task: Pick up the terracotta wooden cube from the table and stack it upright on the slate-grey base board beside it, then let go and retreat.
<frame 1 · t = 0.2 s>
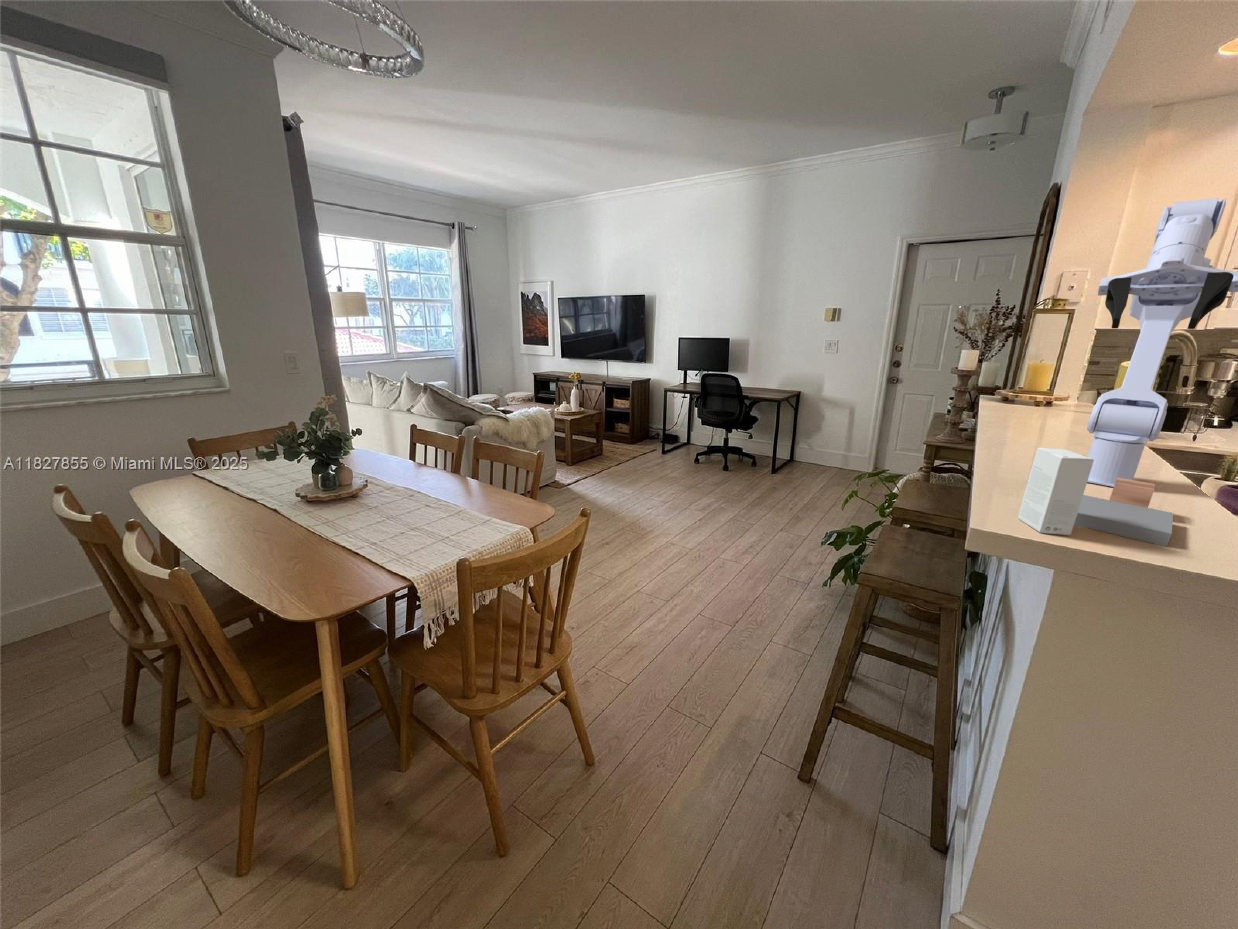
hand: (1152, 323, 70), 31 cm above the table, tool tilted 45°, fingers open, 7 cm apart
terracotta cube: (1125, 511, 82), on the table
skincare box: (1042, 528, 75), on the table
slate base board: (1112, 522, 77), on the table
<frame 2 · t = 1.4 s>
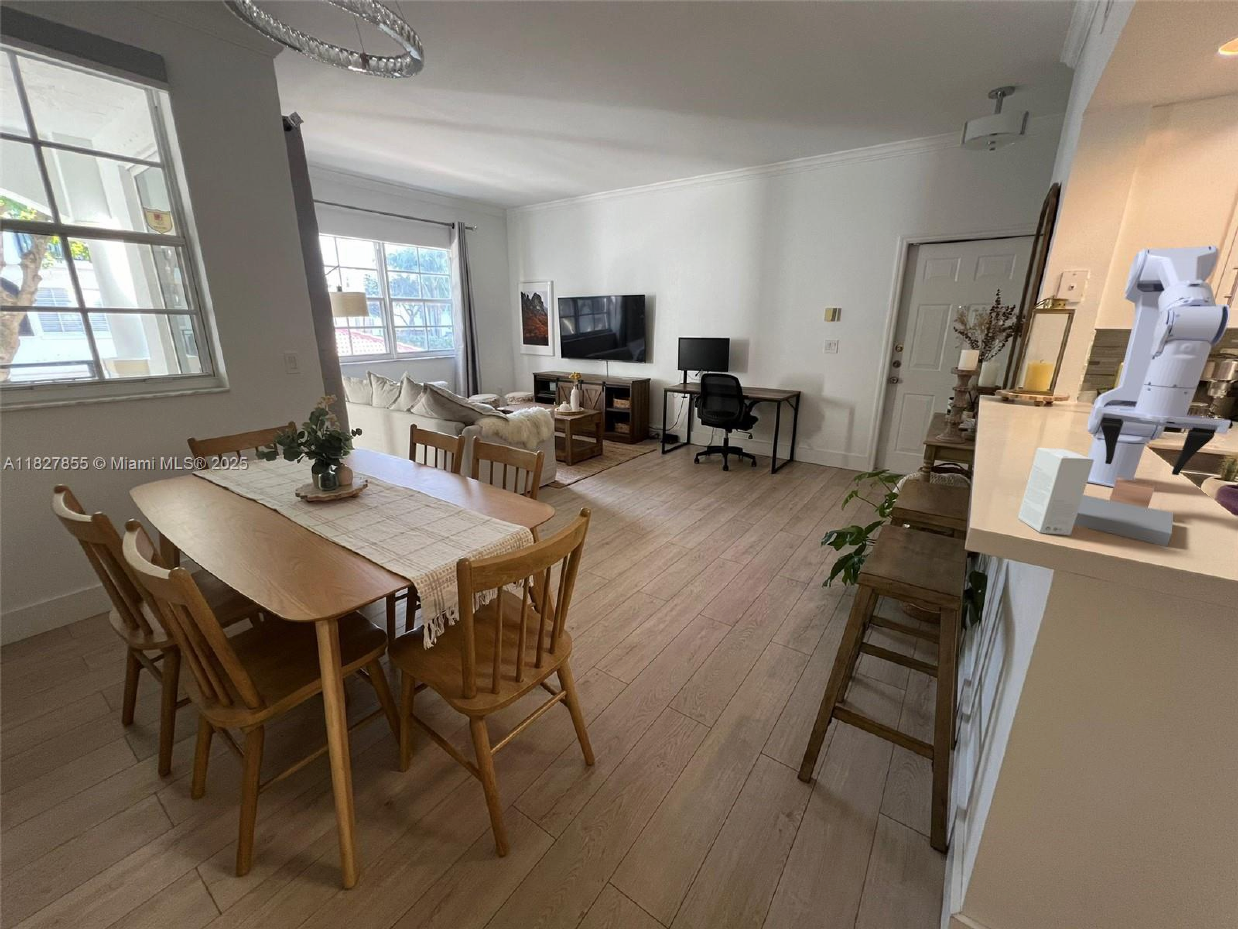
hand: (1140, 468, 79), 8 cm above the table, tool pointing down, fingers open, 7 cm apart
nothing on the table moved.
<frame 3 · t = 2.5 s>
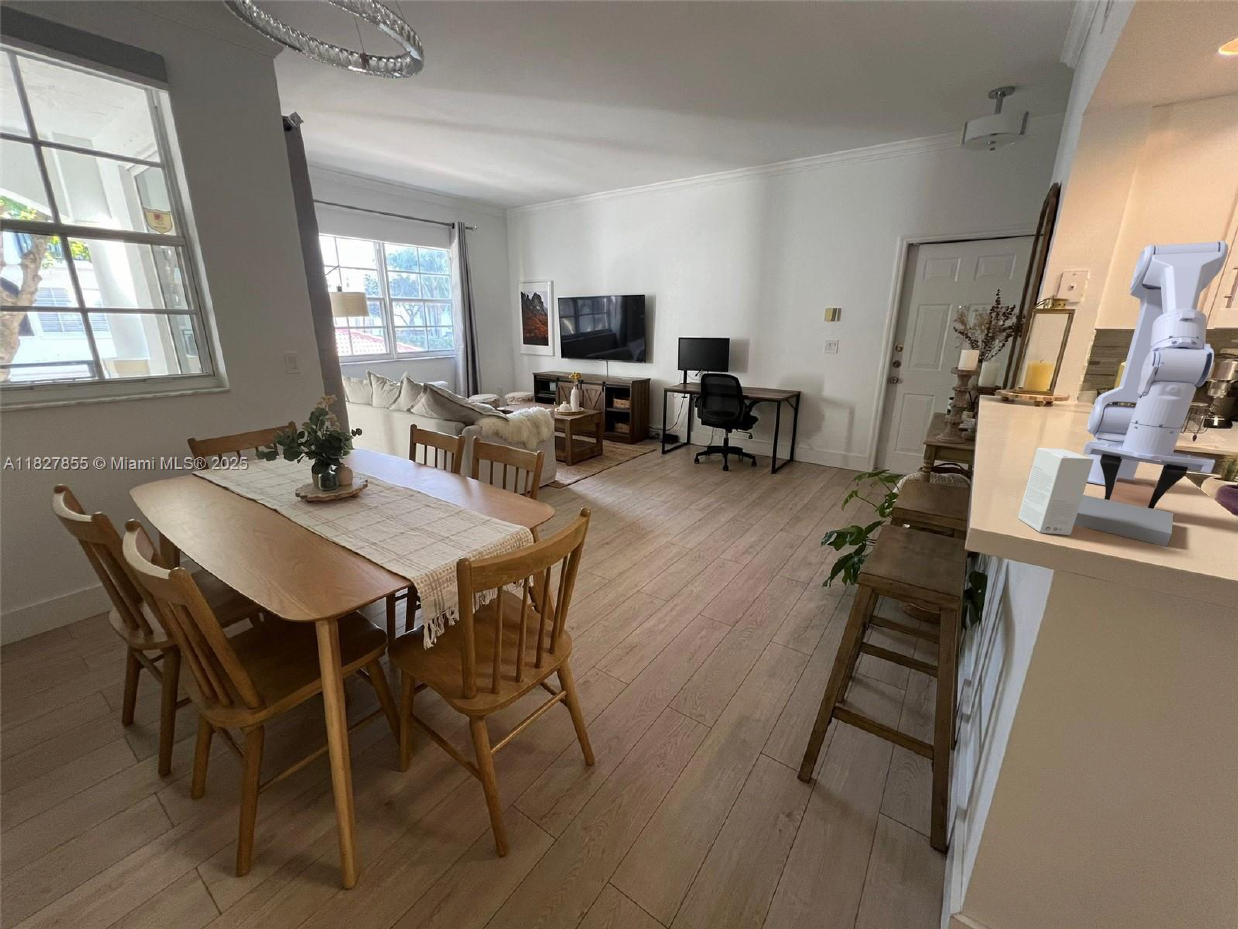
hand: (1128, 503, 81), 1 cm above the table, tool pointing down, fingers closed on terracotta cube, 4 cm apart
terracotta cube: (1125, 510, 82), on the table, touching gripper
everything else where it was.
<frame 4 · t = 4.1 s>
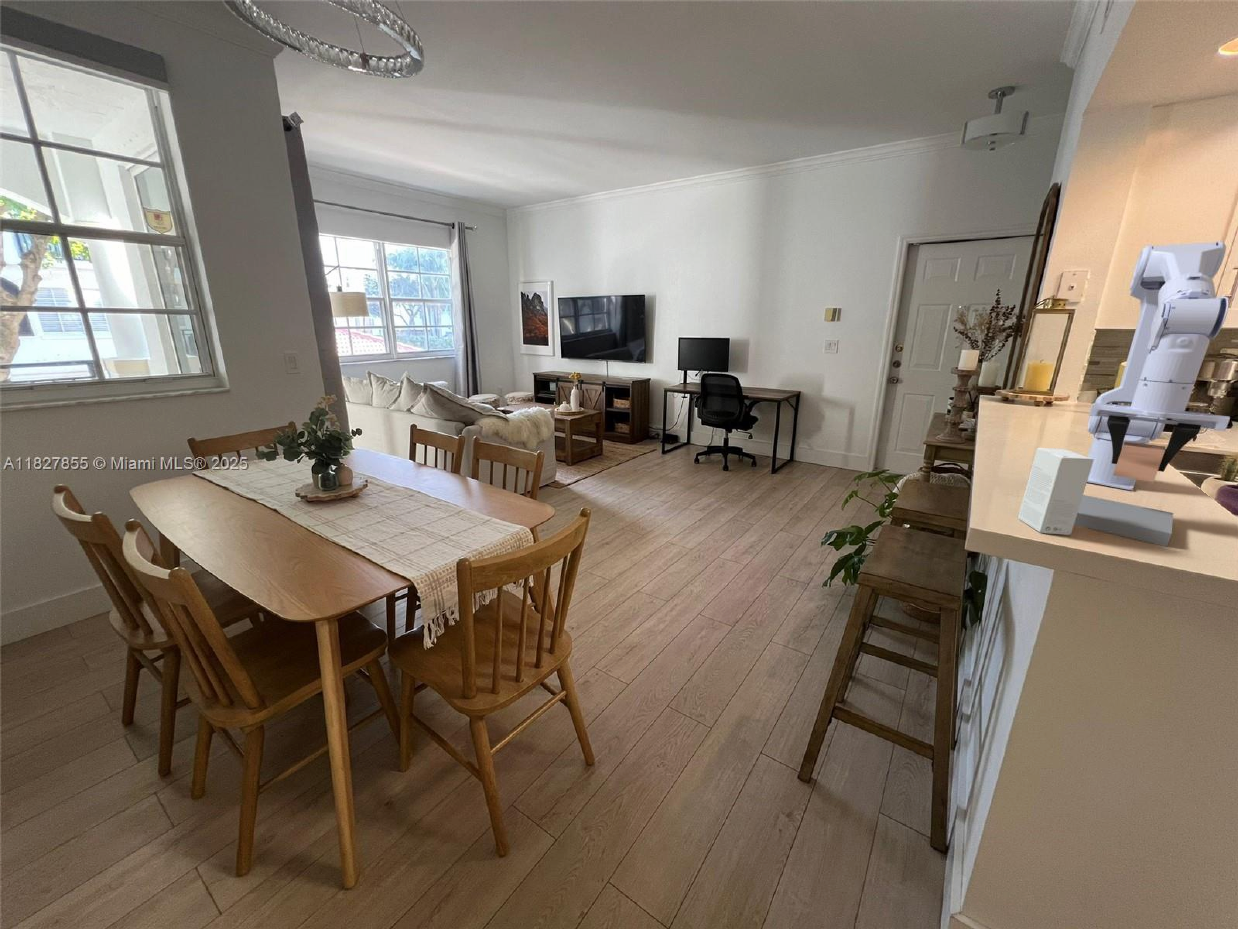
hand: (1137, 466, 77), 9 cm above the table, tool pointing down, fingers closed on terracotta cube, 4 cm apart
terracotta cube: (1133, 475, 77), point 7 cm above the table, touching gripper
everything else where it was.
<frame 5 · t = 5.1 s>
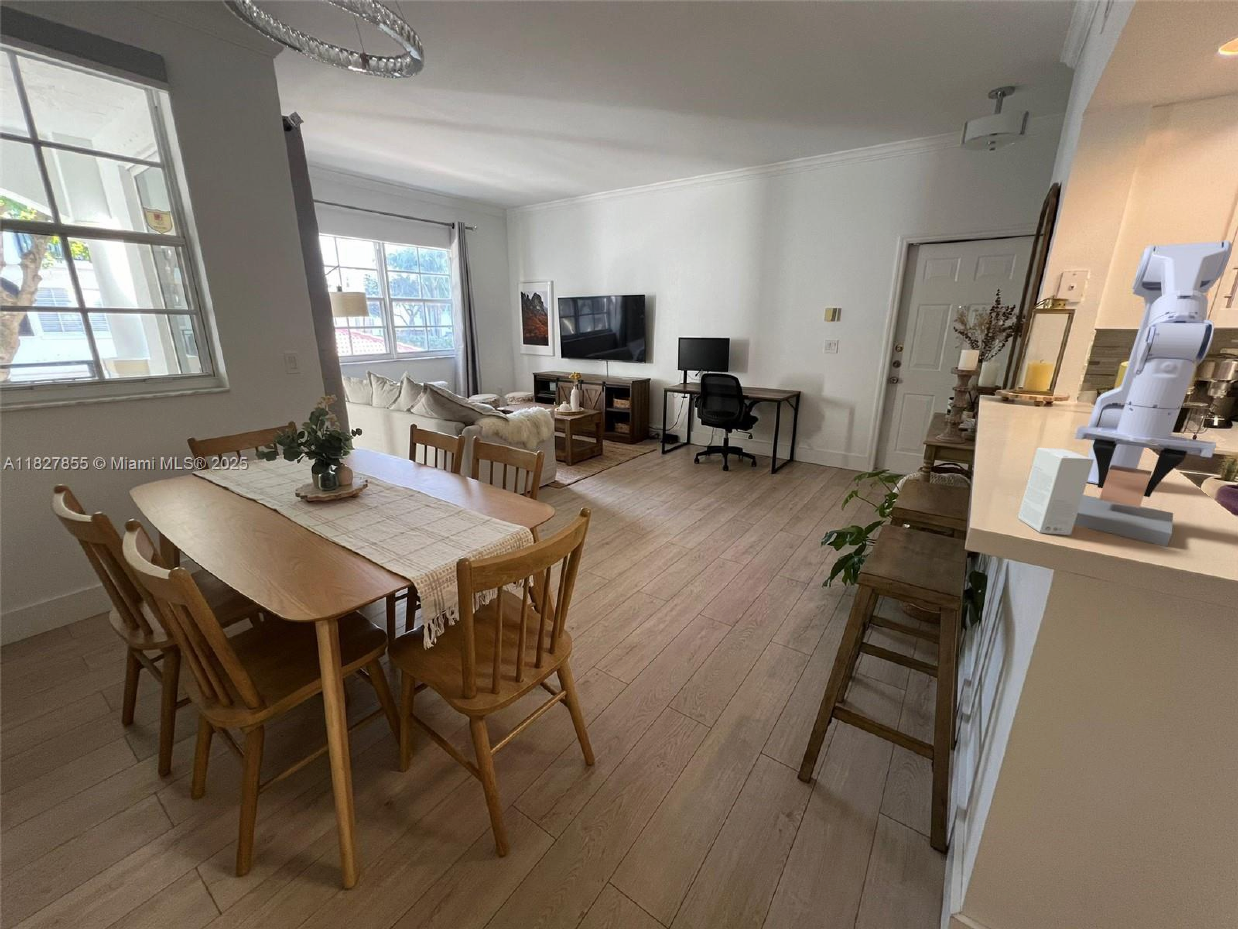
hand: (1123, 491, 76), 5 cm above the table, tool pointing down, fingers closed on terracotta cube, 4 cm apart
terracotta cube: (1120, 500, 76), point 4 cm above the table, touching gripper
everything else where it was.
when the fingers open (4 cm above the table, at t = 5.8 s): terracotta cube stays where it is, resting on slate base board.
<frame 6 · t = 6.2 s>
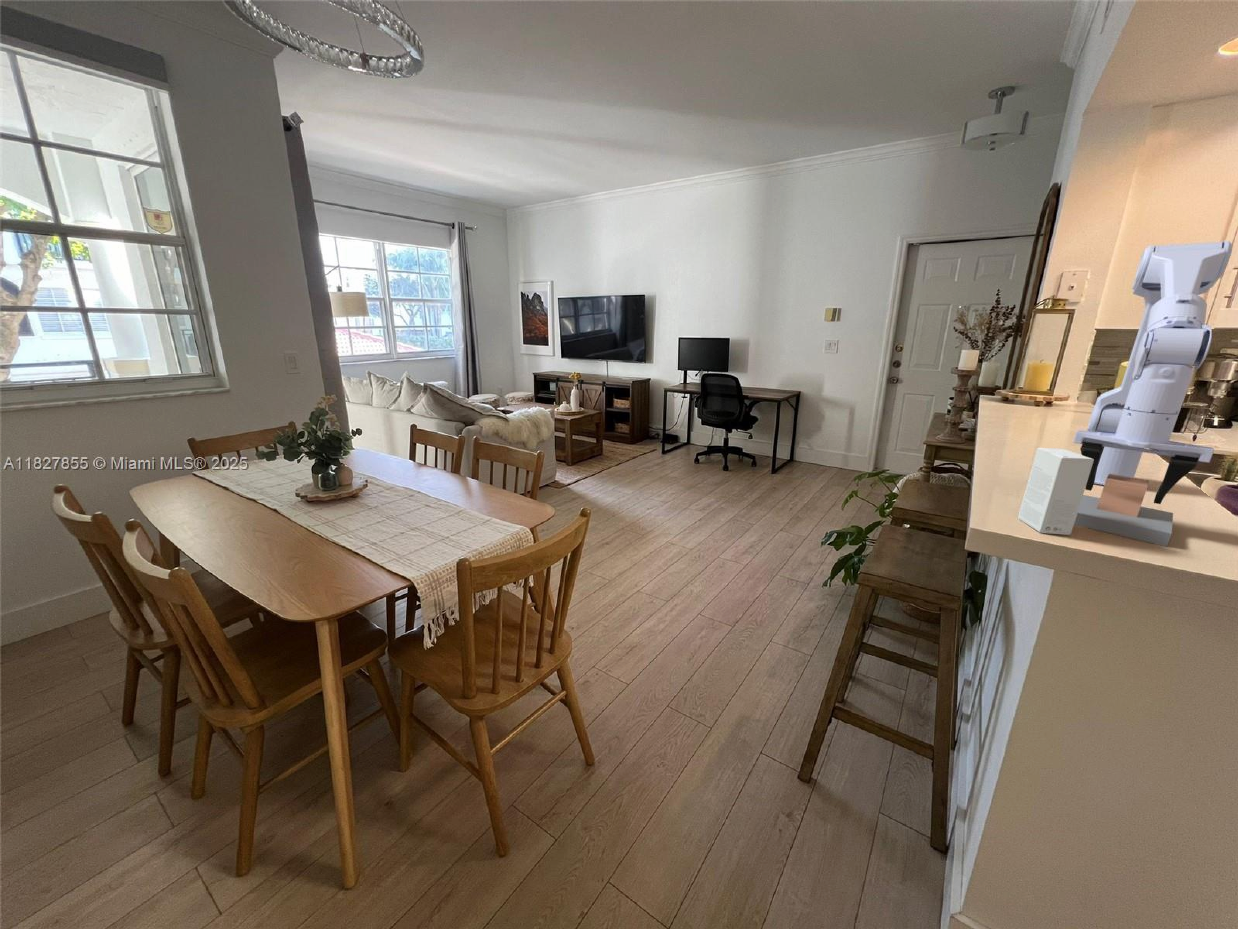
hand: (1121, 495, 76), 4 cm above the table, tool pointing down, fingers open, 7 cm apart
terracotta cube: (1117, 509, 77), point 2 cm above the table, touching slate base board
everything else where it was.
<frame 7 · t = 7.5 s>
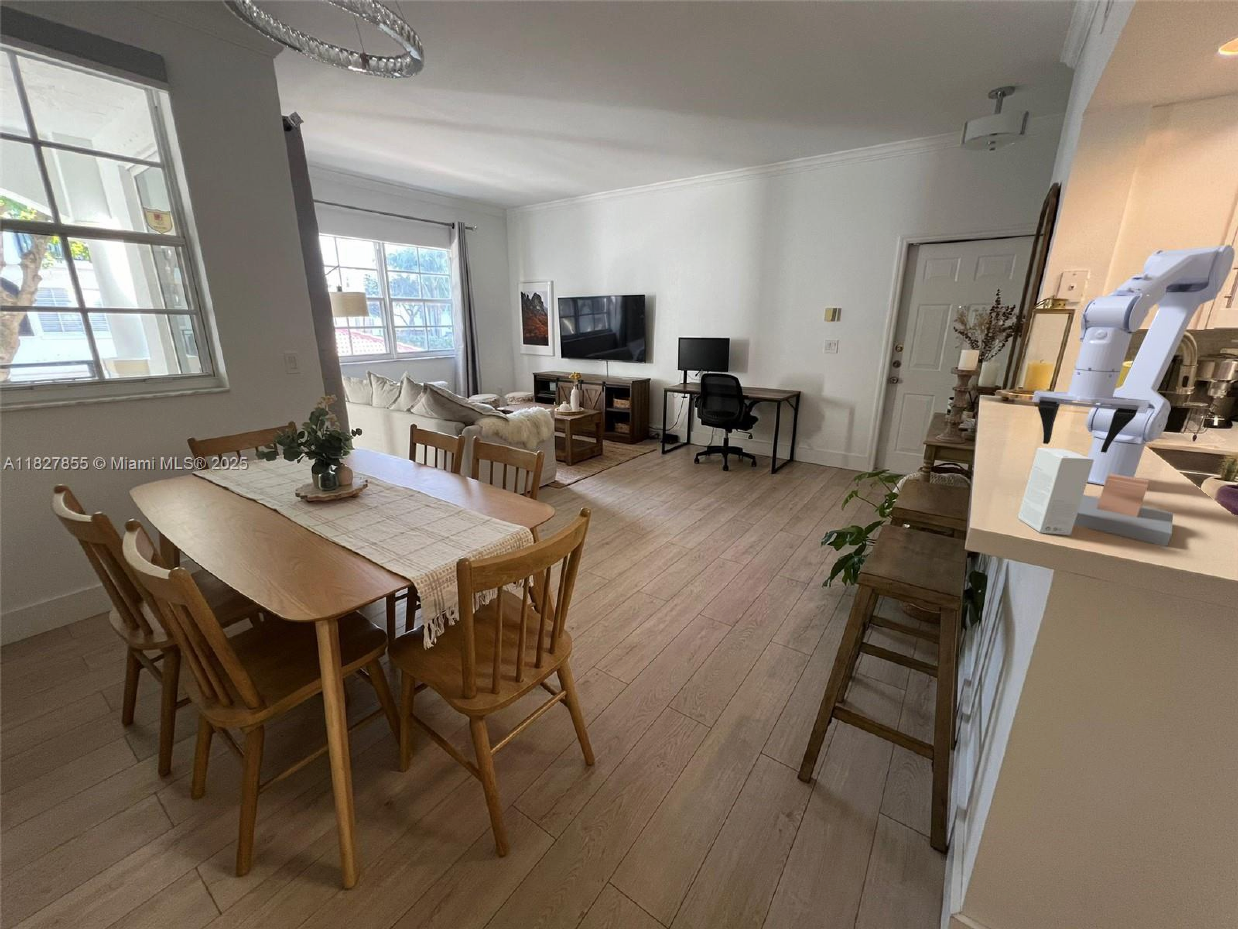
hand: (1074, 447, 86), 9 cm above the table, tool pointing down, fingers open, 7 cm apart
nothing on the table moved.
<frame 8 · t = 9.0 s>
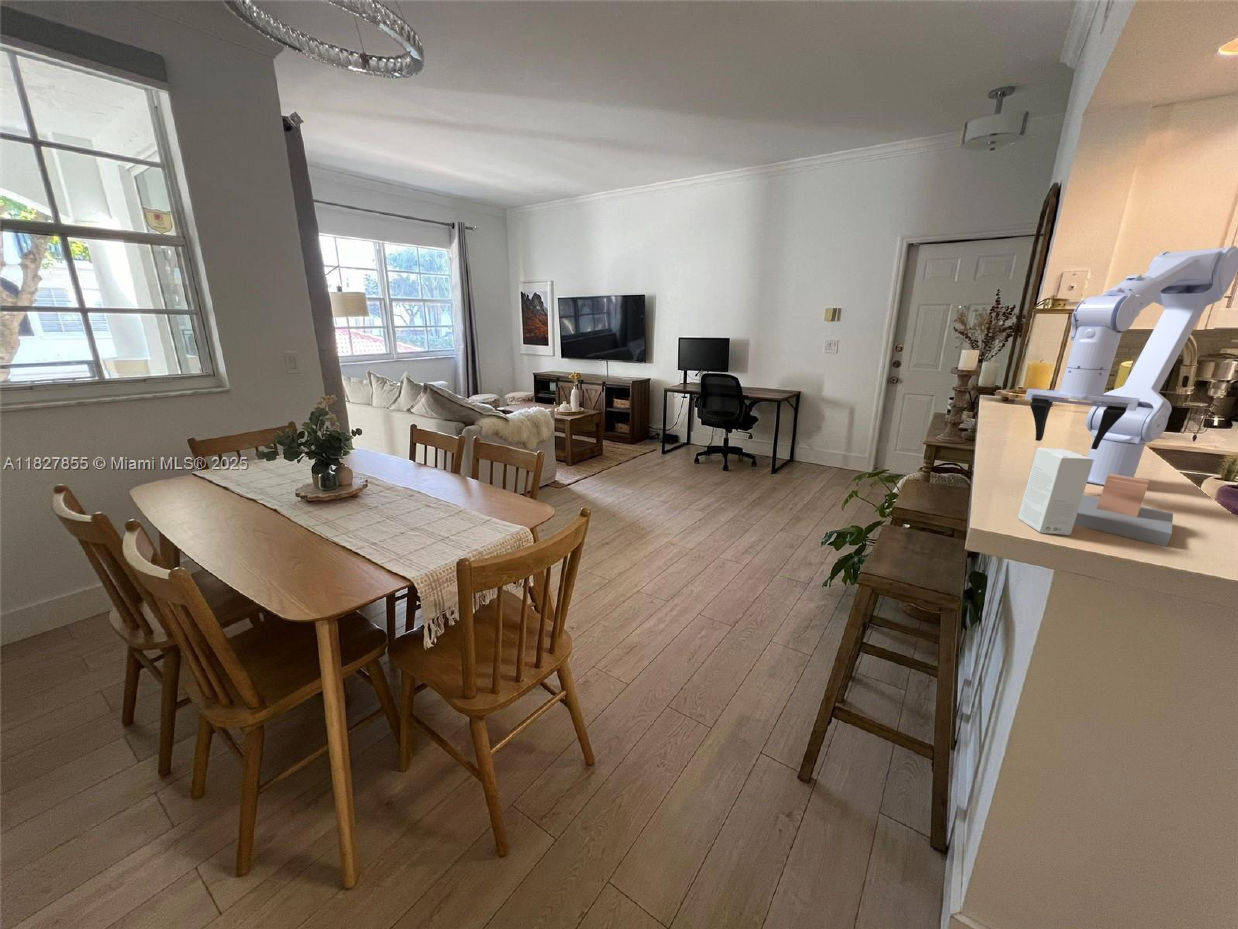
hand: (1065, 444, 87), 9 cm above the table, tool pointing down, fingers open, 7 cm apart
nothing on the table moved.
at the end: terracotta cube inside the target area on the slate base board (1.1 cm from its centre), point 2.0 cm above the slate base board's base; terracotta cube tilted 0°; the gripper is holding nothing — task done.
